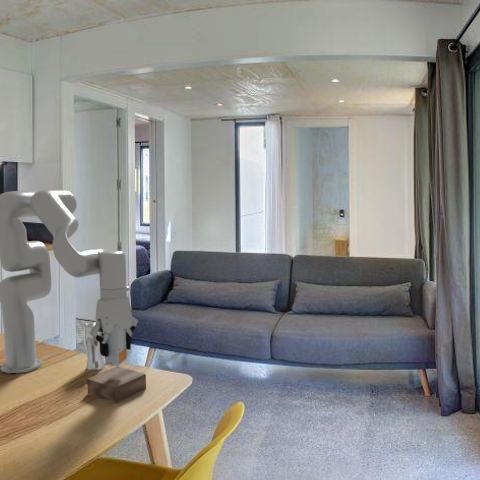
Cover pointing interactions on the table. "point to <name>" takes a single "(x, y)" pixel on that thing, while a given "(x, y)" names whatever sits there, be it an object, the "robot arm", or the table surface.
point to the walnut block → (116, 384)
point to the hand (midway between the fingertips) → (115, 351)
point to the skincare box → (116, 347)
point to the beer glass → (92, 349)
